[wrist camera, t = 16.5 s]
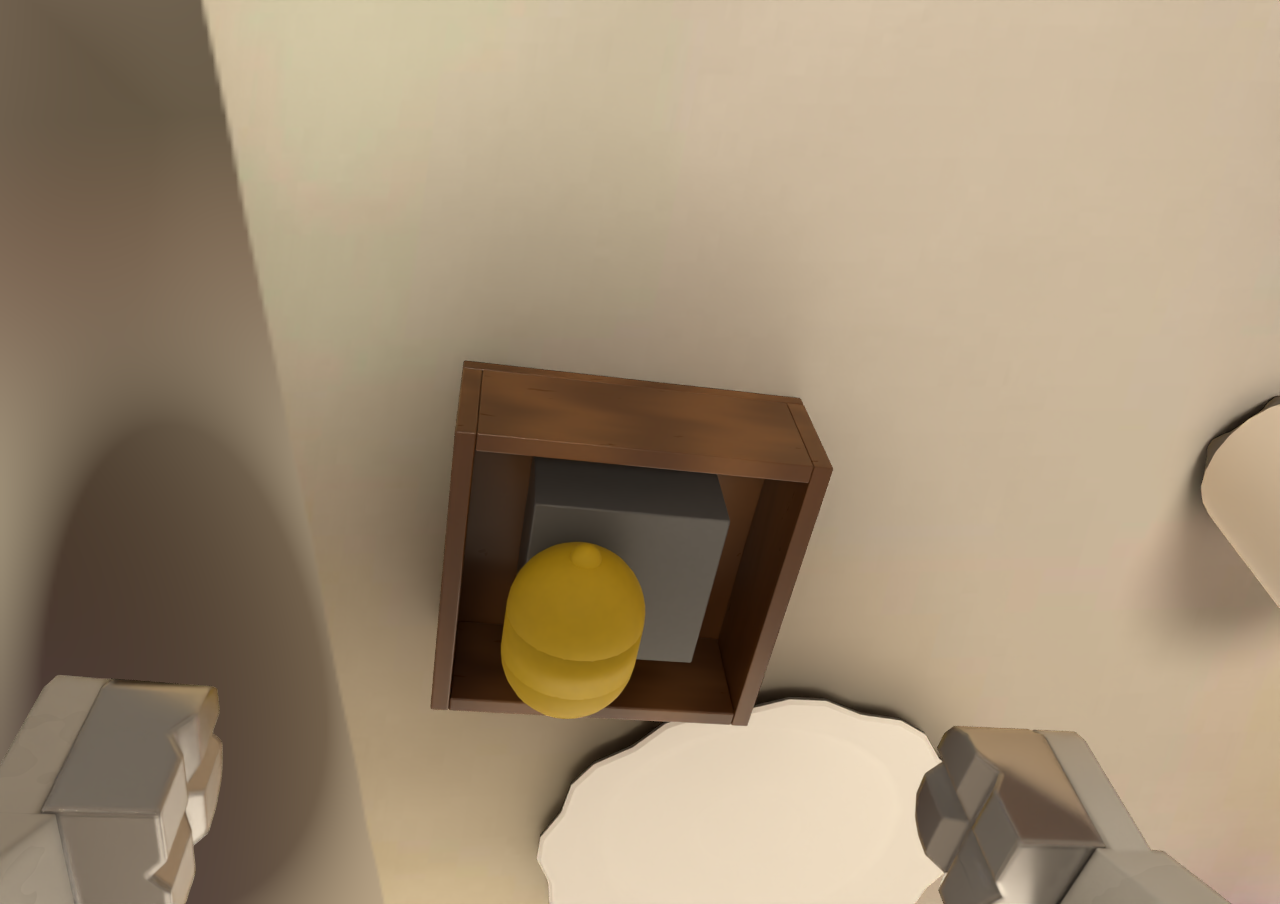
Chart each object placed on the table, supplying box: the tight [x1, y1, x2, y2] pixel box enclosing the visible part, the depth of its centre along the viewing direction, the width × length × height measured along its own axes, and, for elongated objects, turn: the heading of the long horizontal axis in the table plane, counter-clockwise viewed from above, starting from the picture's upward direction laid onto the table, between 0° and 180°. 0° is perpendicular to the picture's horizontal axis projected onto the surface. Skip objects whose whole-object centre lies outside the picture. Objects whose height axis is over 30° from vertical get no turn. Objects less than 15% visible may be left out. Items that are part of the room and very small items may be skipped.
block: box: [516, 456, 730, 663], centre depth 43 cm, size 8×8×4 cm
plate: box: [537, 697, 944, 904], centre depth 58 cm, size 25×25×2 cm
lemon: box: [501, 542, 645, 719], centre depth 39 cm, size 8×5×5 cm
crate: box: [431, 361, 833, 726], centre depth 43 cm, size 15×15×6 cm
